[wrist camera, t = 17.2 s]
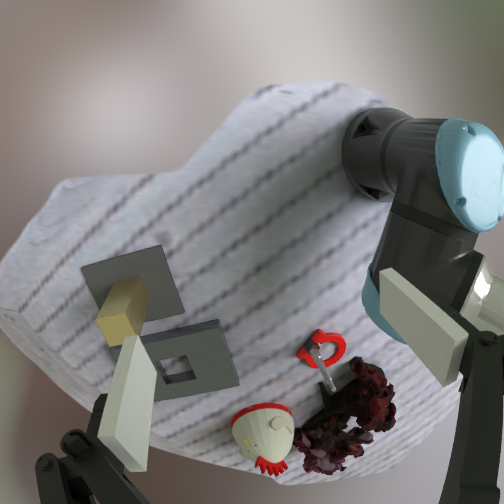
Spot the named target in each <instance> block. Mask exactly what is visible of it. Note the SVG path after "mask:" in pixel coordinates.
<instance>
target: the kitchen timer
mask: <svg viewBox="0 0 504 504" xmlns="http://www.w3.org/2000/svg"><path fill="white" fill-rule="evenodd" d="M231 428H232V434H233V437H234V439H235V441H236V442H237V444H238V446H239V448H240V449H239V452H240V454H241V455H242V456H243V457H248V458H249V459H250V460H252V461H253V462H255V468H256V467H257V466H258V465H259V466H260V469H261V473H262V474H263V473H265V471H266V469H267V471H268V473H269V475H270V476H271V475H272V474H273V473H274V475H275V477H277V476H278V475H279V472H280V473H281V474H282V473H283V472H284V470H287V469H288V466H287V465H286V463H285V462H284V461H283V459H284V458H285V457H286V455H287V454H288V453H289V451H290V449H291V446H292V443H293V438H294V421H293V417H292V414H291V412H290V410H289V409H288V408H287V407H285V406H282V405H280V404H275V403H262V404H256V405H253V406H250V407H247V408H245V409H243V410H241V411H240V412H238V413H237V414H236V415H235V416H234V418H233V420H232V422H231ZM282 467H283V468H284V470H283V468H282Z"/></svg>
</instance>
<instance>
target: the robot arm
mask: <svg viewBox="0 0 504 504" xmlns="http://www.w3.org/2000/svg"><path fill="white" fill-rule="evenodd" d="M342 160H343V165H344V169H345V172H346V174H347V176H348V178H349V180H350V182H351V183H352V184H353V186H354V187H355V188H356V189H357V190H358V191H359V192H361V193H362V194H363V195H365V196H367V197H370V198H372V199H374V200H377V201H381V202H392V206H391V209H390V211H389V214H388V217H387V220H386V223H385V226H384V229H383V232H382V235H381V238H380V241H379V244H378V247H377V250H376V252H375V255H374V258H373V260H372V263H370V265H369V267H368V271H367V277H366V281H365V284H364V287H363V289H362V295H361V297H362V303H363V306H364V307H365V311H366V313H367V314H368V316H369V317H370V318H371V320H372V321H373V322H374V323H375V324H376V325H377V326H378V327H379V328H380V329H381V330H383V331H384V332H385V333H386V334H388V335H389V336H391V337H392V338H394V339H395V340H397V341H399V342H401V343H404V344H406V345H407V344H408V346H409V347H410V348H411V349H412V350H413V351H414V353H415V354H416V355H417V356H418V357H419V358H420V360H421V361H422V362H423V363H424V364H425V366H426V367H427V368H428V369H429V370H430V372H431V373H432V374H433V375H434V376H435V378H436V379H437V380H438V381H439V382H440V384H441V385H442V386H443V387H445V386H447V385H449V384H450V383H452V382H454V381H456V379H457V376H458V373H459V371H460V372H461V373H462V375H463V379H462V382H461V385H460V388H459V391H458V392H461V396H460V405H459V412H458V419H457V426H456V432H455V438H454V443H453V449H452V453H451V458H450V462H449V467H448V471H447V475H446V479H445V483H444V487H443V490H442V494H441V497H440V501H439V504H499V500H500V489H499V488H498V487H497V486H496V485H497V477H498V469H499V462H500V453H501V442H502V441H501V440H502V427H503V395H504V280H503V279H501V278H499V277H498V276H495V275H494V274H493V273H492V271H491V268H490V266H489V263H488V260H487V257H486V256H485V255H483V254H481V253H479V252H477V251H475V250H474V246H475V243H476V240H477V237H478V234H479V233H480V232H487V231H489V230H491V229H493V228H494V227H495V226H496V225H497V220H498V221H499V220H501V219H502V217H503V216H504V149H503V147H502V145H501V143H500V141H499V140H498V138H497V137H496V136H495V135H494V133H493V132H492V131H490V130H489V129H488V128H487V127H485V126H483V125H482V124H479V123H476V122H470V121H464V120H462V119H458V118H450V119H425V118H424V119H423V118H421V119H420V118H417V119H414V118H413V117H411V116H409V115H407V114H405V113H404V112H402V111H399V110H397V109H393V108H374V109H370V110H367V111H365V112H363V113H361V114H360V115H358V116H357V117H356V118H355V119H354V120H353V121H352V123H351V124H350V126H349V127H348V129H347V131H346V134H345V136H344V140H343V145H342ZM156 377H157V371H156V370H155V368H154V366H153V364H152V362H151V360H150V358H149V356H148V354H147V352H146V350H145V348H144V346H143V344H142V342H141V340H140V338H139V336H138V335H134V336H129V337H125V339H124V342H123V345H122V349H121V352H120V355H119V358H118V362H117V365H116V368H115V372H114V375H113V379H112V382H111V386H110V389H109V393H107V394H101V395H100V396H99V397H98V399H97V400H96V401H95V404H94V407H93V412H92V414H91V419H90V421H89V425H88V428H87V433H85V432H83V431H82V430H79V429H75V430H71V431H69V432H67V433H66V434H65V435H64V436H63V438H62V439H61V443H60V446H61V449H62V450H63V452H64V453H65V454H66V455H67V457H63V458H60V459H58V458H57V457H56V456H55V455H54V454H52V453H46V454H43V455H42V456H40V457H39V459H38V460H37V462H36V465H35V470H36V478H37V485H38V490H39V496H40V501H41V504H96V502H95V499H94V497H93V494H94V496H95V497H96V499H97V500H98V502H99V503H100V504H151V503H150V502H149V501H148V500H147V499H146V498H145V497H144V495H143V494H142V493H141V492H140V491H139V490H138V489H137V488H136V486H135V485H134V484H133V483H132V482H131V481H130V480H129V478H128V477H127V476H126V475H125V474H124V473H123V471H124V466H125V467H126V468H127V469H128V470H129V471H130V472H141V471H146V468H147V457H148V446H149V436H150V426H151V417H152V408H153V400H154V392H155V384H156Z"/></svg>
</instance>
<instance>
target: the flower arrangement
mask: <svg viewBox="0 0 504 504" xmlns="http://www.w3.org/2000/svg"><path fill="white" fill-rule="evenodd" d="M350 366H351V369H352V370H353V371H354V374H355V375H356V377H357V379H355V380H353V381H351V382H350V383H348V384H347V385H346V386H345V387H343V388H342V389H341V390H340V391H338V392H337V393H335V394H334V395H331V396H330V395H329V394H328V393H327V392H326V389H325V386H324V384H323V382H319V385H320V388H321V392H322V397H323V401H324V406H325V408H324V409H322V410H321V411H320V412H319V413H317V414H316V415H315V416H314V417H313V418H312V419H311V420H310V421H309V422H308V423H307V424H305V425H304V426H303V427H301V428H297V430H296V431H295V430H294V438H293V443H292V445H295V447H300V448H298V450H299V452H304V454H305V455H306V456H305V459H304V464H303V467H304V470H305V471H306V472H307V473H310V472H312V471H313V470H314V472H317V473H320V472H321V473H322V474H326V475H332V474H333V472H336V470H340V471H344V470H345V469H346V468H347V467H343V466H342V464H341V463H343V462H345V457H347V456H348V455H354V457H355V458H357V457H360V456H363V454H364V450H363V447H362V446H361V444H362V443H363V444H370V443H372V442H374V440H373V435H372V434H371V433H370V432H369V431H371V430H374V431H375V432H380V431H381V430H382V431H383V432H385V431H389V430H390V429H391V428H392V427H393V426H394V424H395V422H396V420H395V418H394V416H395V413H396V406H395V405H394V403H391V400H392V398H393V397H394V395H395V392H393V387H394V386H393V385H392V384H390V383H389V384H390V385H389V386H386V385H387V379H386V378H385V375H384V372H383V370H382V369H381V368H379V367H377V366H375V365H373V364H368V363H364V362H363V360H362V358H361V357H356V356H355V357H354V358H353V359H352V360H351V361H350ZM350 416H354V417H357V420H356V422H357V423H358V425H359V426H361V427H362V428H359V427H354V428H353V429H351V430H350V431H349V432H348V433H346V432H344V431H342V429H346V428H347V426H348V425H346V424H347V422H348V420H349V419H350Z"/></svg>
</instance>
